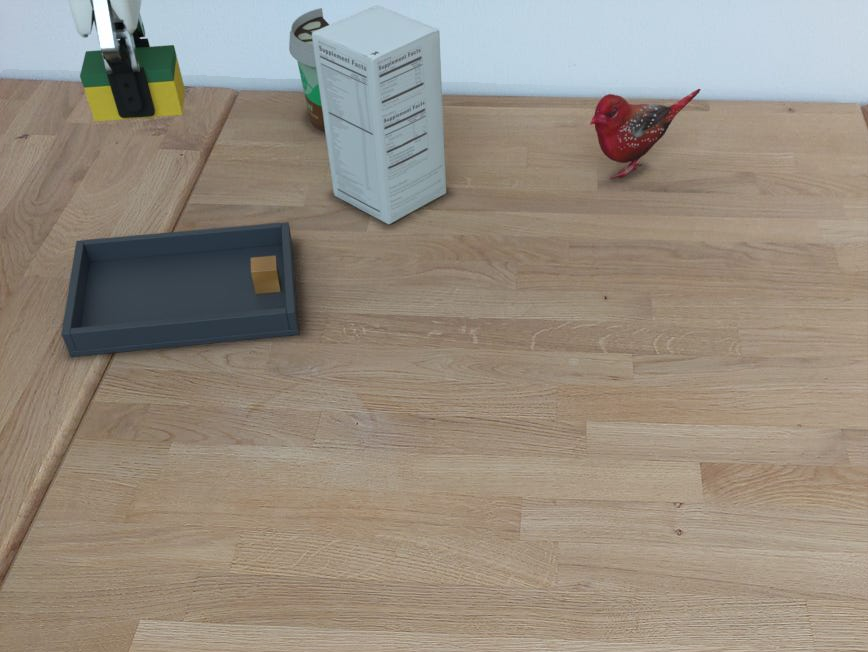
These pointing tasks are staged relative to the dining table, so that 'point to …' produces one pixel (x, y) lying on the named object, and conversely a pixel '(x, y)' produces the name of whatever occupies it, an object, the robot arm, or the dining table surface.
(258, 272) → the small brown block
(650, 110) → the decorative bird figurine
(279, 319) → the tray
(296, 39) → the food container
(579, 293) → the dining table surface
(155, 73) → the sponge
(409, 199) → the supplement box
